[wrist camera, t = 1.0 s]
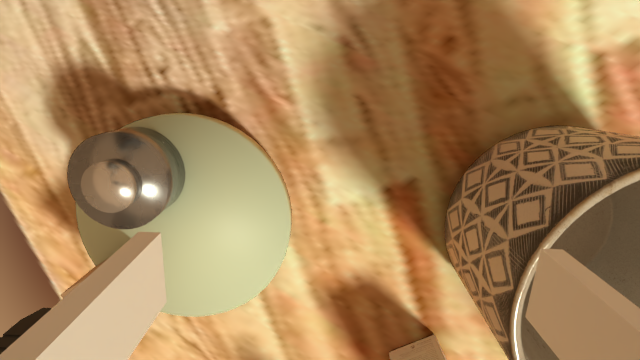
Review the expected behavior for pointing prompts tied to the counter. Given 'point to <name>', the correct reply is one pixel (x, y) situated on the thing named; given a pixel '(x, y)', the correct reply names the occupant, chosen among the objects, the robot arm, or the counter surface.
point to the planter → (544, 222)
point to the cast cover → (126, 176)
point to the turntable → (210, 219)
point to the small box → (419, 350)
